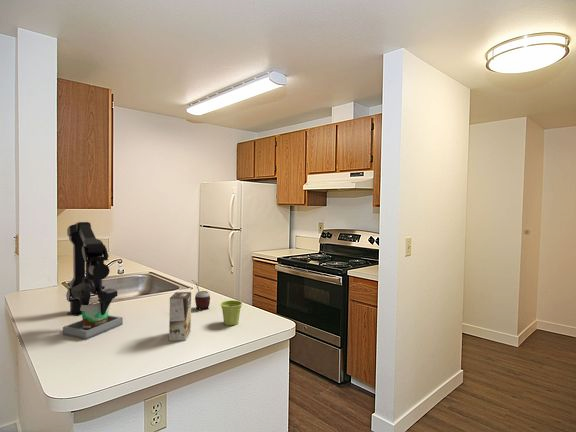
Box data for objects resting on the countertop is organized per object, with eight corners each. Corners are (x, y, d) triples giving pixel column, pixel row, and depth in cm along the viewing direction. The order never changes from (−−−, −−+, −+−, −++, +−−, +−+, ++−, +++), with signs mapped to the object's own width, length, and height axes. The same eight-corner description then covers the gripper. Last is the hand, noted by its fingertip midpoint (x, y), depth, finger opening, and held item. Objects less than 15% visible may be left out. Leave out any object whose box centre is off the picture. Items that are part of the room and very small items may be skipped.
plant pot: (215, 325, 147) (216, 304, 146) (227, 318, 156) (227, 299, 155) (235, 328, 144) (235, 307, 143) (245, 321, 152) (246, 301, 152)
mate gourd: (211, 307, 171) (212, 276, 170) (206, 312, 163) (206, 280, 162) (197, 306, 172) (197, 276, 171) (191, 311, 164) (191, 279, 163)
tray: (62, 334, 133) (62, 327, 133) (100, 320, 149) (100, 313, 149) (86, 339, 129) (86, 331, 129) (122, 324, 145) (122, 317, 145)
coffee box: (186, 340, 130) (186, 298, 129) (168, 340, 130) (169, 298, 129) (191, 331, 139) (191, 291, 139) (174, 331, 139) (175, 291, 138)
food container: (92, 333, 133) (92, 307, 133) (80, 330, 135) (80, 305, 134) (117, 322, 145) (117, 298, 144) (105, 320, 147) (105, 297, 146)
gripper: (57, 276, 133) (57, 316, 134) (94, 281, 127) (94, 323, 128) (83, 270, 144) (83, 308, 144) (118, 275, 137) (118, 314, 138)
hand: (94, 313), depth 138 cm, fingers open, 9 cm apart
